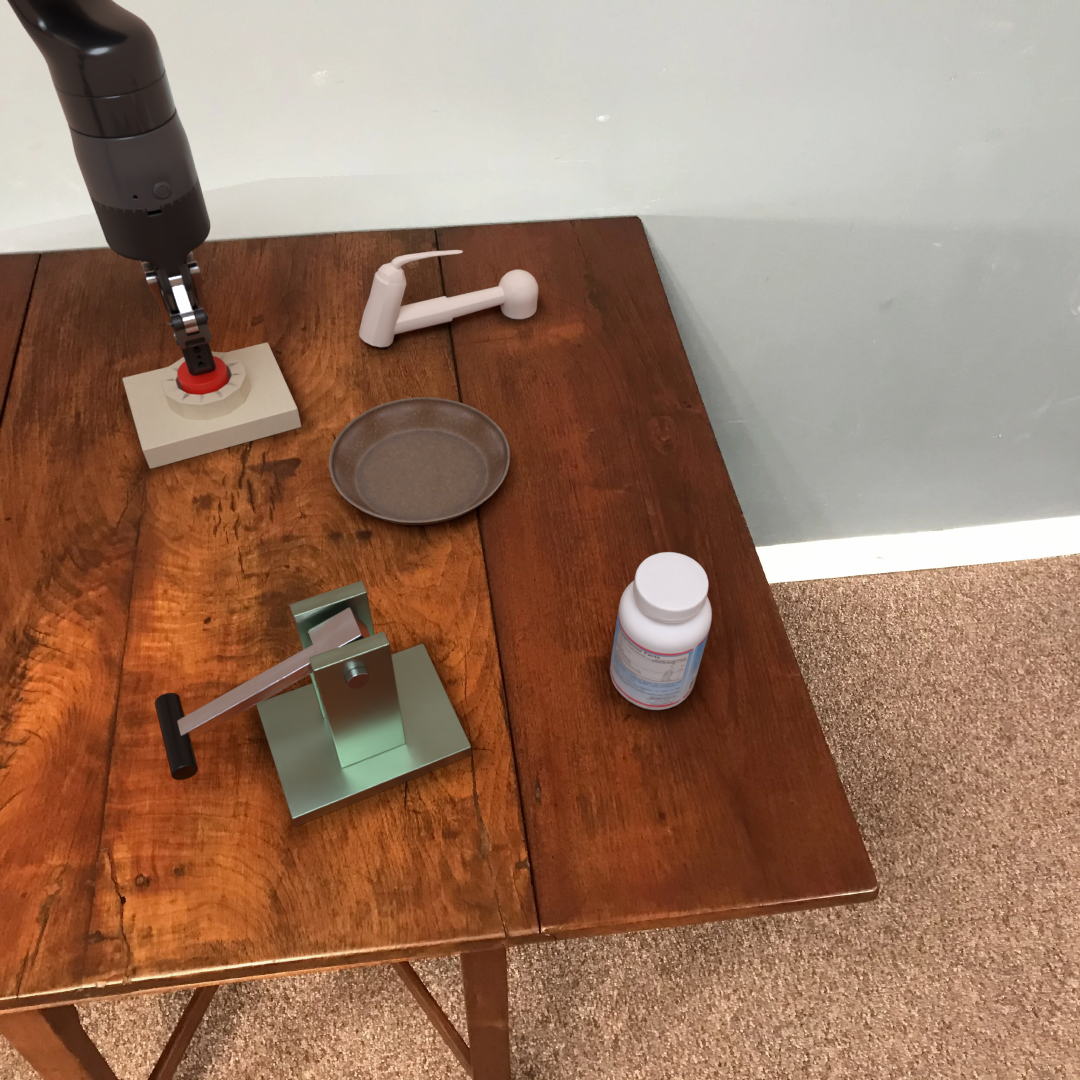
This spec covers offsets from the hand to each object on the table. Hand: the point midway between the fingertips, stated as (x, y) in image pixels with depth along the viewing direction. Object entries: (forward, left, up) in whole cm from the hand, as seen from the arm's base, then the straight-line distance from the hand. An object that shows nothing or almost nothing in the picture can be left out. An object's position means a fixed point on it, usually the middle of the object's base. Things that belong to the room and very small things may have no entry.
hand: (202, 368), depth 80 cm
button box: (0, 0, -5) cm, 5 cm away
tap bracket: (+2, -36, -5) cm, 36 cm away
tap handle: (-3, -36, +3) cm, 36 cm away
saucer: (+14, -15, -5) cm, 21 cm away
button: (0, 0, -2) cm, 2 cm away
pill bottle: (+22, -40, -5) cm, 46 cm away
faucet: (+24, +3, -5) cm, 25 cm away
